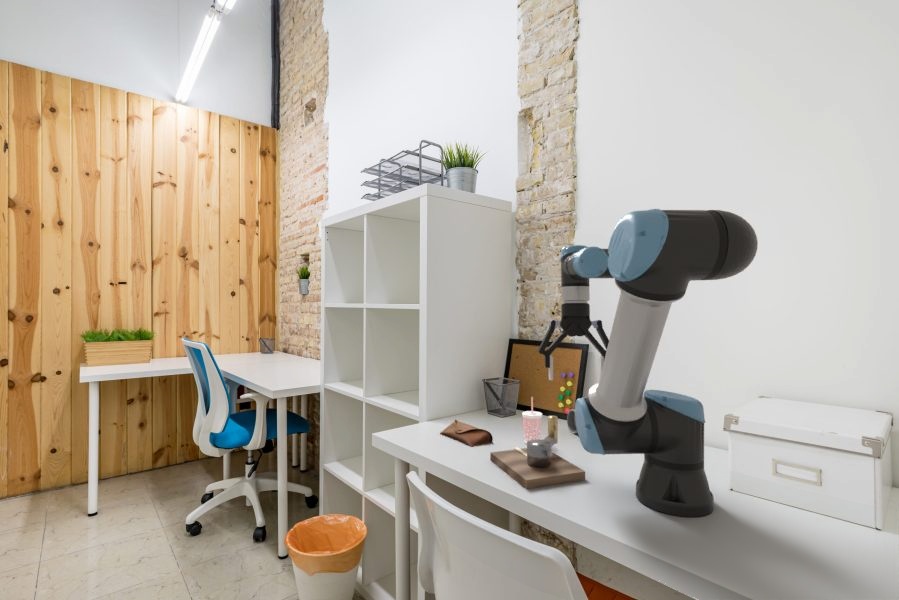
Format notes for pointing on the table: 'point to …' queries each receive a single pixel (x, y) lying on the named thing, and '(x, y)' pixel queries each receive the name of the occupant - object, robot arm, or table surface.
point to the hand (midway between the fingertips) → (575, 380)
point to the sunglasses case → (467, 434)
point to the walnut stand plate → (536, 469)
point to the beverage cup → (531, 424)
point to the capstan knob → (543, 446)
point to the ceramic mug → (572, 421)
